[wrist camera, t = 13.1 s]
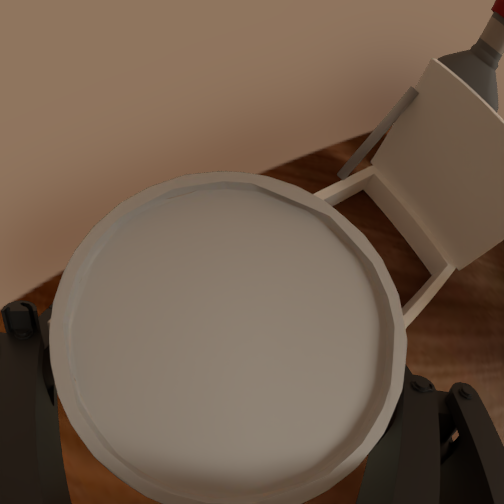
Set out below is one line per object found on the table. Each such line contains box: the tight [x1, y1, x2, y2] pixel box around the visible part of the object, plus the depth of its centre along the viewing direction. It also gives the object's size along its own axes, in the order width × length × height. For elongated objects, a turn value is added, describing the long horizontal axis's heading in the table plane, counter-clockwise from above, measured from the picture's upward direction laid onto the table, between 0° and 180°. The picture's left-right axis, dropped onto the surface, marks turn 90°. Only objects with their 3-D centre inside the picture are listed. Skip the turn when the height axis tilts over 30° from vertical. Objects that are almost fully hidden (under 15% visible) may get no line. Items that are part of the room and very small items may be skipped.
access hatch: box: [313, 58, 504, 329], centre depth 21 cm, size 16×16×18 cm
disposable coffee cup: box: [49, 171, 407, 504], centre depth 11 cm, size 10×10×12 cm
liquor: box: [437, 0, 504, 113], centre depth 23 cm, size 9×9×30 cm
